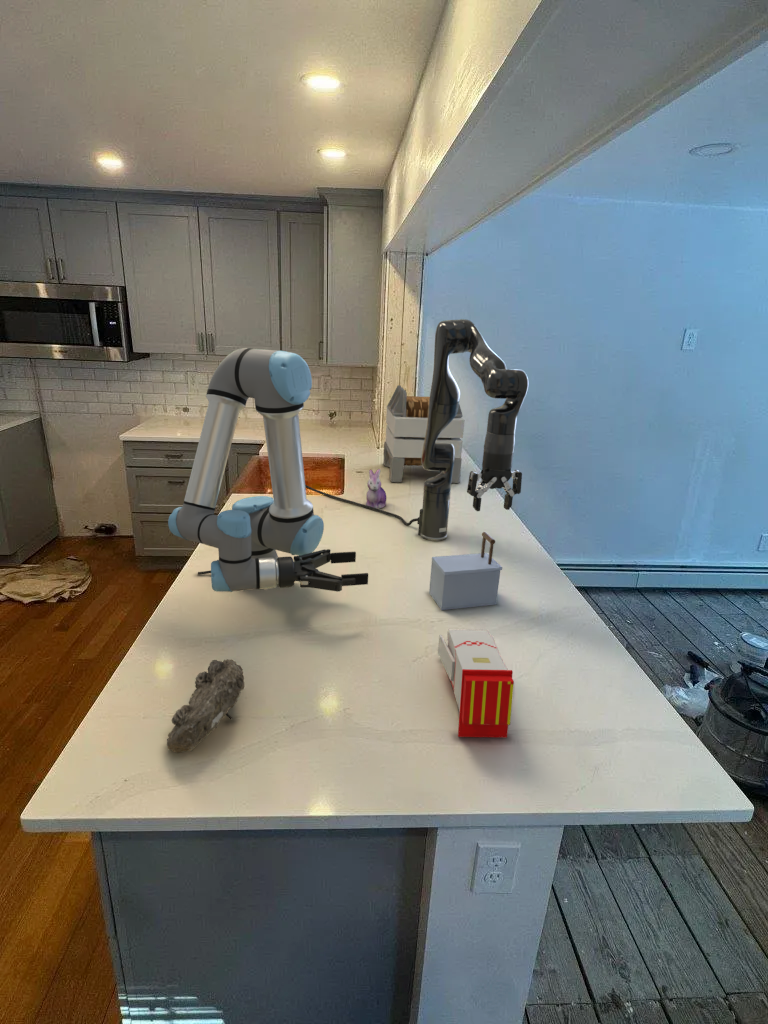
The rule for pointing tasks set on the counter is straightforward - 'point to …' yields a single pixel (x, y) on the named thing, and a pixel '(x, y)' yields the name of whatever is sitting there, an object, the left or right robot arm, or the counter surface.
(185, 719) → the fossil
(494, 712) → the toy
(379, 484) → the figurine
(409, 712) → the counter surface
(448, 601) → the chest
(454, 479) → the grey slatted crate
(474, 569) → the lid
